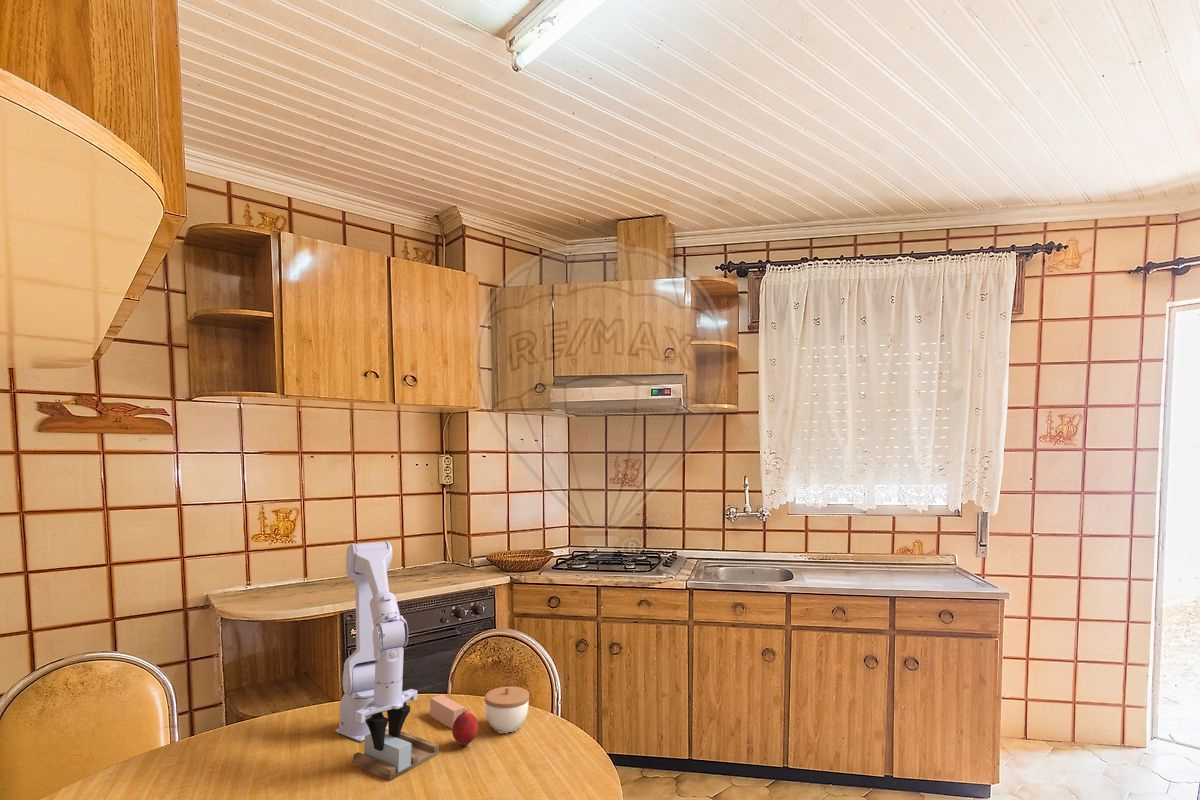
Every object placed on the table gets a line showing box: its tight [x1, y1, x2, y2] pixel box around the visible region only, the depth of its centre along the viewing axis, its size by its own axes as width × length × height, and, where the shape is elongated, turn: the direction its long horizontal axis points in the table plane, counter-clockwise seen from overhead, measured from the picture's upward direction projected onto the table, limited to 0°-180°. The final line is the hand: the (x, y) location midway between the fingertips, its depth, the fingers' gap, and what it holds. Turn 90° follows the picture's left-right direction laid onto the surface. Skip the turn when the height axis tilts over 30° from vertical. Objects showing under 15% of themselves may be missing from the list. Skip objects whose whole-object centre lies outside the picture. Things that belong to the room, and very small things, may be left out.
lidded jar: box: [484, 686, 530, 734], centre depth 145 cm, size 11×11×9 cm
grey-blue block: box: [363, 732, 412, 772], centre depth 127 cm, size 11×3×4 cm, turn 58°
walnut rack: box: [352, 731, 440, 782], centre depth 129 cm, size 12×13×2 cm
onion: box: [451, 707, 479, 747], centre depth 136 cm, size 6×6×8 cm
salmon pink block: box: [429, 694, 466, 730], centre depth 148 cm, size 11×3×4 cm, turn 45°
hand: (386, 745), depth 127 cm, fingers closed on grey-blue block, 3 cm apart
